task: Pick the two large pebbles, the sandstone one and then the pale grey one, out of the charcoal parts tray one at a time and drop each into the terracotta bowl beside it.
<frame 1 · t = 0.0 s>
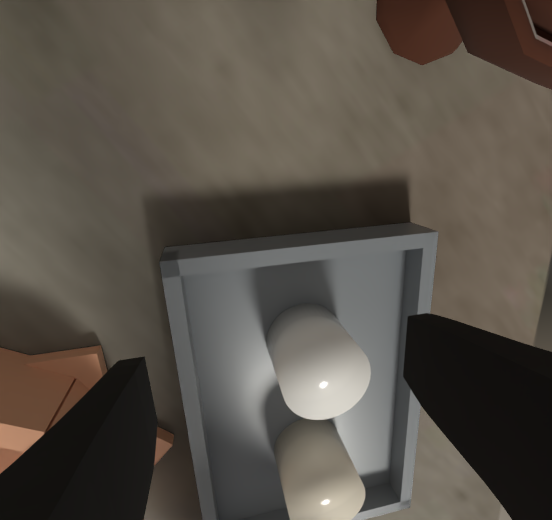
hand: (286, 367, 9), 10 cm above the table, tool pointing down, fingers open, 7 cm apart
sandstone pebble: (306, 444, 22), point 1 cm above the table, touching parts tray
ice cream bowl: (424, 2, 17), on the table
grey pebble: (303, 338, 20), point 1 cm above the table, touching parts tray
parts tray: (301, 384, 22), on the table
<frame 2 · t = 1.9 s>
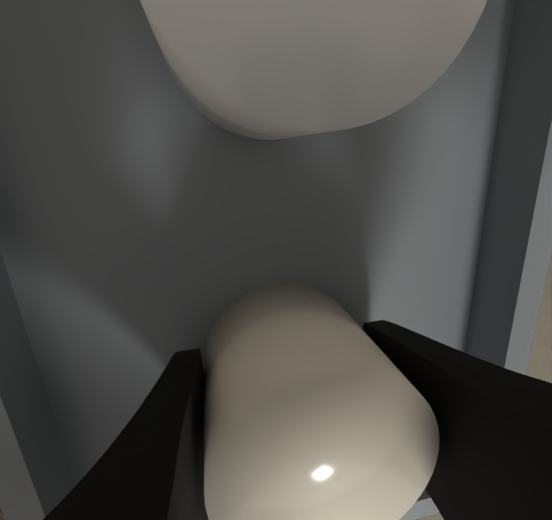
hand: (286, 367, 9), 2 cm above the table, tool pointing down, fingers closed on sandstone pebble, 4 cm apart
sandstone pebble: (281, 352, 10), point 1 cm above the table, touching gripper, parts tray
grey pebble: (263, 32, 7), point 1 cm above the table, touching parts tray
parts tray: (266, 209, 9), on the table
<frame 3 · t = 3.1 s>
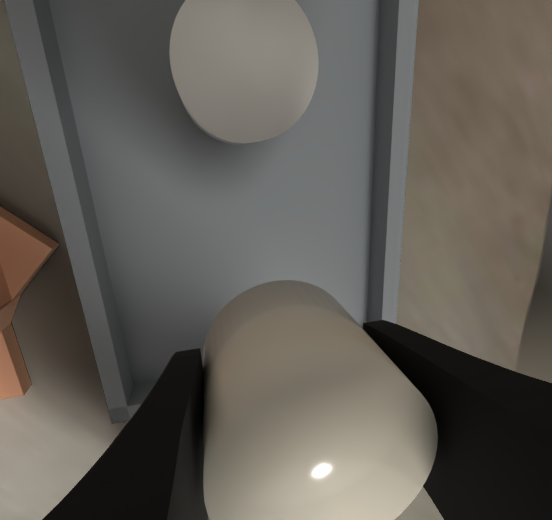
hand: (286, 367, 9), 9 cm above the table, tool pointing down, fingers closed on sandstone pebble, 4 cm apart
sandstone pebble: (280, 351, 10), point 8 cm above the table, touching gripper
grey pebble: (234, 86, 14), point 1 cm above the table, touching parts tray
parts tray: (240, 185, 16), on the table
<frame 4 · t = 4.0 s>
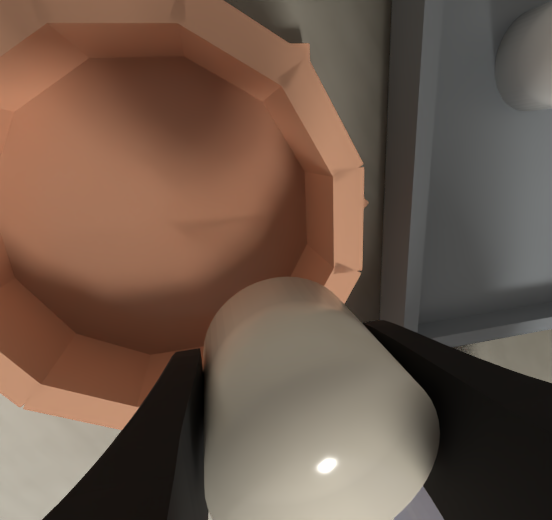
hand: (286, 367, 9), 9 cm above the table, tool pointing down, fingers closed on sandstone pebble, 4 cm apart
sandstone pebble: (281, 348, 10), point 8 cm above the table, touching gripper
grey pebble: (535, 61, 16), point 1 cm above the table, touching parts tray
parts tray: (505, 149, 18), on the table
terracotta bowl: (167, 219, 16), on the table
when the fingers open (6 cm above the table, at t = 5.1 s): sandstone pebble drops 1 cm, point 4 cm above the table.
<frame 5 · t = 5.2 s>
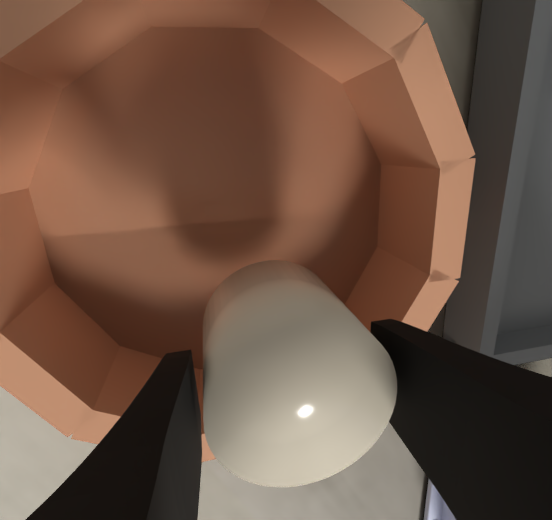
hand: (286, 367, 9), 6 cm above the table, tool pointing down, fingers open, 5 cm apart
sandstone pebble: (270, 323, 11), point 4 cm above the table
terracotta bowl: (224, 217, 14), on the table
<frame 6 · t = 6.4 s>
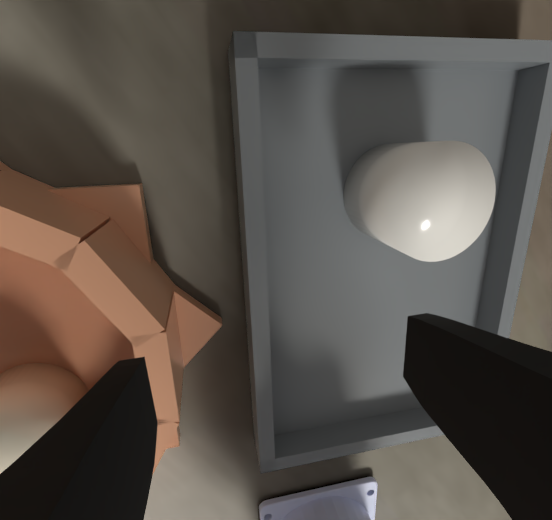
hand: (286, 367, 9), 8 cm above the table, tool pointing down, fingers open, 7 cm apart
sandstone pebble: (39, 403, 16), point 1 cm above the table, touching terracotta bowl
grey pebble: (387, 192, 16), point 1 cm above the table, touching parts tray
parts tray: (372, 265, 18), on the table
terracotta bowl: (7, 344, 16), on the table
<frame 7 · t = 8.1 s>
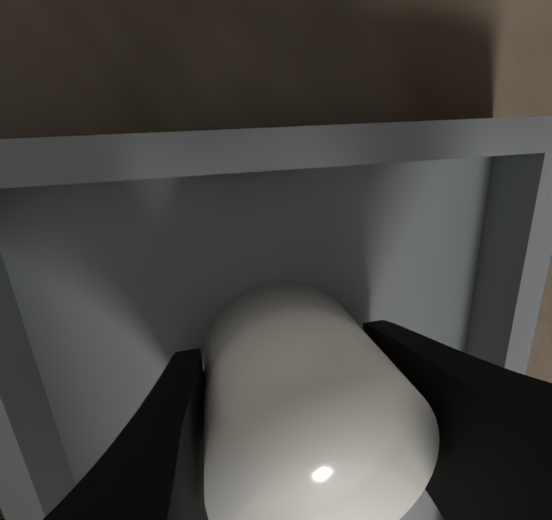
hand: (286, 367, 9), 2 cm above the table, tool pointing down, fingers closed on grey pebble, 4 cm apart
grey pebble: (280, 352, 10), point 1 cm above the table, touching gripper, parts tray
parts tray: (280, 434, 12), on the table
when the fingers open (6 cm above the table, at t = 11.4 s): grey pebble drops 5 cm, resting on terracotta bowl.
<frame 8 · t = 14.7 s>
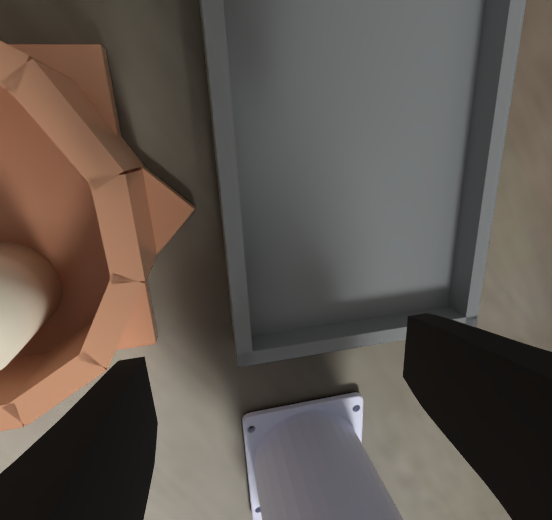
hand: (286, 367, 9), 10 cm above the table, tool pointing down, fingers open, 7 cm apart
sandstone pebble: (8, 287, 16), point 1 cm above the table, touching terracotta bowl
parts tray: (349, 155, 18), on the table
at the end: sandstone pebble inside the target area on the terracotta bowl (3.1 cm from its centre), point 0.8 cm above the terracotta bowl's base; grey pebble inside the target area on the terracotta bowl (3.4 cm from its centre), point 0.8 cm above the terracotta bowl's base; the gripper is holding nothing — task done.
